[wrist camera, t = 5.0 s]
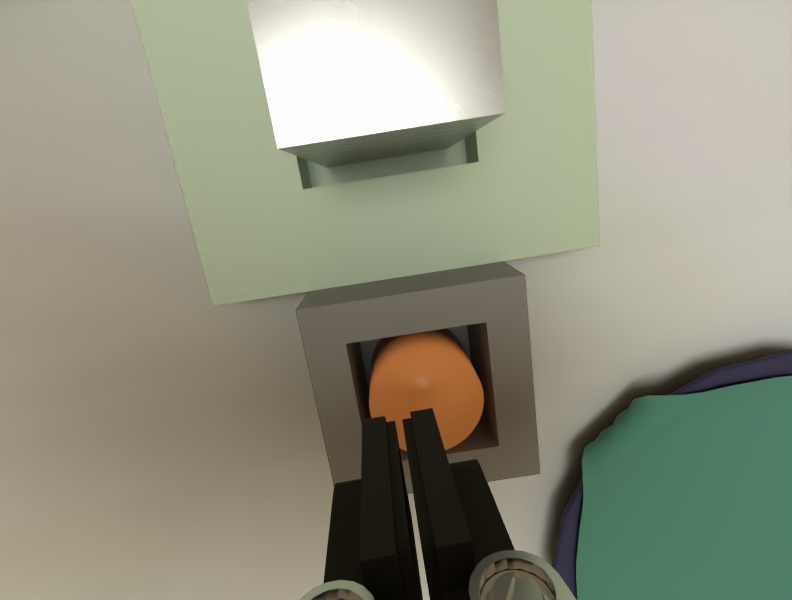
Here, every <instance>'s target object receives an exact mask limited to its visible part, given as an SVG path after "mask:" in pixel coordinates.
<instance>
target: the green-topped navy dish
mask: <svg viewBox="0 0 792 600" xmlns="http://www.w3.org/2000/svg"><path fill="white" fill-rule="evenodd" d="M582 474H583V477H582V479H581V481H580V483H579V484H578V486H577V488H576V490H575V491H574V493H573V495H572V497H571V498H570V500H569V502H568V504H567V505H566V507H565V509H564V511H563V512H562V517H561V523H560V528H559V533H558V538H557V543H556V549H555V554H554V559H553V564H552V567H553V568H554V569H555V570H556V572H557V573H558V574H559V575H560V576H561V578H562V579H563V581H564V582H565V584H566V585H567V587H568V588H569V589H570V591H571V592H572V594H573V595H574V597H575V598H576V600H792V351H782V352H778V353H774V354H770V355H767V356H763V357H759V358H755V359H751V360H747V361H743V362H739V363H735V364H731V365H727V366H724V367H720V368H716V369H712V370H710V371H709V372H707V373H705V374H703V375H701V376H700V377H698V378H696V379H694V380H693V381H691V382H689V383H687V384H685V385H684V386H682V387H680V388H678V389H677V390H675V391H673V392H671V393H669V394H668V395H648V396H644V397H639V398H635V399H633V401H632V402H631V404H630V406H629V407H628V409H626V410H625V411H623V412H622V413H620V414H619V415H617V417H616V419H615V421H614V423H613V425H611V426H610V427H608V428H606V429H604V430H602V431H601V432H600V434H599V435H598V437H597V438H596V440H594V441H593V442H591V443H589V444H588V445H586V446H585V448H584V453H583V457H582Z"/></svg>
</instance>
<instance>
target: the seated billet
mask: <svg viewBox="0 0 792 600" xmlns="http://www.w3.org/2000/svg"><path fill="white" fill-rule="evenodd" d="M246 1H247V6H248V11H249V15H250V20H251V25H252V30H253V34H254V39H255V44H256V49H257V54H258V58H259V63H260V68H261V73H262V77H263V82H264V87H265V92H266V97H267V101H268V106H269V111H270V116H271V121H272V125H273V130H274V135H275V140H276V144H277V149H279V150H282V151H285V152H287V153H290V154H292V155H295V156H298V157H300V158H303V159H306V160H308V161H311V162H313V163H316V164H319V165H321V166H324V167H334V166H340V165H347V164H353V163H359V162H366V161H372V160H378V159H385V158H391V157H398V156H404V155H410V154H417V153H423V152H430V151H436V150H442V149H447V148H449V147H451V146H452V145H454V144H456V143H457V142H459V141H461V140H462V139H464V138H465V137H467V136H469V135H470V134H472V133H474V132H475V131H477V130H479V129H480V128H482V127H483V126H485V125H487V124H488V123H490V122H492V121H493V120H495V119H497V118H498V117H500V116H502V115H503V114H505V113H506V108H505V96H504V83H503V71H502V59H501V46H500V34H499V21H498V9H497V0H246Z"/></svg>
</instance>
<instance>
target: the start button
mask: <svg viewBox="0 0 792 600" xmlns="http://www.w3.org/2000/svg"><path fill="white" fill-rule="evenodd" d="M483 405H484V393H483V388H482V385H481V382H480V380H479V378H478V376H477V374H476V372H475V370H474V368H473V366H472V364H471V362H470V360H469V358H468V356H467V354H466V352H465V350H464V348H463V346H462V344H461V342H460V341H459V339H458V338H457V337H456V336H455V334H454V333H453V332H451V331H450V330H449V329H448V328H445V329H439V330H432V331H426V332H419V333H413V334H406V335H400V336H393V337H387V338H381V339H380V340H379V342H378V343H377V345H376V347H375V349H374V352H373V356H372V363H371V380H370V397H369V408H370V414H371V418H376V417H382V416H385V417H386V422H390V421H395V424H396V429H397V435H398V441H399V447H400V449H403V450H405V451H407V448H406V441H405V435H404V428H403V422H402V419H407V418H411V415H410V412H411V411H417V410H423V409H429V408H433V411H434V415H435V418H436V421H437V425H438V428H439V431H440V435H441V438H442V442H443V445H444V448H445V450H447V449H449V448H452V447H454V446H456V445H457V444H459V443H460V442H462V441H463V440H464V439H465V438H467V437H468V436H469V435H470V434H471V432H472V431H473V430H474V428H475V427H476V425H477V424H478V422H479V420H480V417H481V415H482V411H483Z"/></svg>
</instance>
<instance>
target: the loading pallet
mask: <svg viewBox="0 0 792 600" xmlns="http://www.w3.org/2000/svg"><path fill="white" fill-rule="evenodd" d="M131 4H132V7H133V11H134V15H135V18H136V22H137V26H138V30H139V33H140V37H141V41H142V45H143V48H144V52H145V56H146V59H147V63H148V67H149V71H150V74H151V78H152V82H153V85H154V89H155V93H156V97H157V100H158V104H159V108H160V112H161V115H162V119H163V123H164V126H165V130H166V134H167V138H168V141H169V145H170V149H171V152H172V156H173V160H174V164H175V167H176V171H177V175H178V179H179V182H180V186H181V190H182V193H183V197H184V201H185V205H186V208H187V212H188V216H189V219H190V223H191V227H192V231H193V234H194V238H195V242H196V246H197V249H198V253H199V257H200V260H201V264H202V268H203V272H204V275H205V279H206V283H207V287H208V290H209V294H210V298H211V301H212V305H213V306H217V305H224V304H230V303H237V302H243V301H249V300H256V299H262V298H269V297H275V296H282V295H288V294H295V293H301V292H308V291H309V292H308V293H307V295H306V296H305V298H304V299H303V301H302V302H301V303H300V305H299V306H298V308H297V309H296V314H297V319H298V324H299V328H300V333H301V337H302V342H303V346H304V351H305V356H306V360H307V365H308V369H309V374H310V378H311V383H312V388H313V392H314V397H315V401H316V406H317V410H318V415H319V420H320V424H321V429H322V433H323V438H324V442H325V447H326V452H327V456H328V461H329V465H330V470H331V474H332V479H333V484H334V486H335V484H336V483H339V482H345V481H351V480H357V479H361V459H362V420H364V419H370V418H371V414H370V408H369V397H370V380H371V363H372V356H373V352H374V349H375V347H376V345H377V343H378V342H379V340H380V339H381V338H387V337H393V336H400V335H406V334H413V333H419V332H426V331H432V330H439V329H445V328H448V329H449V330H450V331H451V332H453V333H454V334H455V336H456V337H457V338H458V339H459V341H460V342H461V344H462V346H463V348H464V350H465V352H466V354H467V356H468V358H469V360H470V362H471V364H472V366H473V368H474V370H475V372H476V374H477V376H478V378H479V380H480V382H481V385H482V388H483V393H484V405H483V411H482V415H481V417H480V420H479V422H478V424H477V425H476V427H475V428H474V430H473V431H472V432H471V434H470V435H469V436H468V437H467V438H465V439H464V440H463V441H462V442H460V443H459V444H457V445H456V446H454V447H452V448H449V449H447V450H445V452H446V455H447V458H448V462H449V463H455V462H461V461H467V460H473V459H477V460H478V462H479V464H480V466H481V468H482V471H483V473H484V476H485V478H486V481H487V482H489V481H495V480H502V479H509V478H515V477H522V476H528V475H535V474H540V464H539V451H538V438H537V425H536V412H535V399H534V386H533V373H532V360H531V347H530V334H529V321H528V308H527V295H526V282H525V275H524V274H523V273H521V272H519V271H518V270H516V269H515V268H513V267H511V266H510V265H508V264H506V263H505V262H503V261H508V260H514V259H521V258H527V257H534V256H540V255H546V254H553V253H559V252H566V251H572V250H579V249H585V248H592V247H598V246H600V238H599V206H598V174H597V143H596V111H595V80H594V48H593V16H592V0H497V9H498V21H499V34H500V46H501V59H502V71H503V83H504V96H505V108H506V113H505V114H503V115H502V116H500V117H498V118H497V119H495V120H493V121H492V122H490V123H488V124H487V125H485V126H483V127H482V128H480V129H479V130H477V131H475V132H474V133H472V134H470V135H469V136H467V137H465V138H464V139H462V140H461V141H459V142H457V143H456V144H454V145H452V146H451V147H449V148H447V149H442V150H436V151H430V152H423V153H417V154H410V155H404V156H398V157H391V158H385V159H378V160H372V161H366V162H359V163H353V164H347V165H340V166H334V167H324V166H321V165H319V164H316V163H313V162H311V161H308V160H306V159H303V158H300V157H298V156H295V155H292V154H290V153H287V152H285V151H282V150H279V149H277V144H276V140H275V135H274V130H273V125H272V121H271V116H270V111H269V106H268V101H267V97H266V92H265V87H264V82H263V77H262V73H261V68H260V63H259V58H258V54H257V49H256V44H255V39H254V34H253V30H252V25H251V20H250V15H249V11H248V6H247V1H246V0H131ZM400 453H401V459H402V465H403V470H404V476H405V482H406V488H407V494H409V493H413V488H412V481H411V474H410V468H409V461H408V455H407V451H405V450H403V449H400Z"/></svg>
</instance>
